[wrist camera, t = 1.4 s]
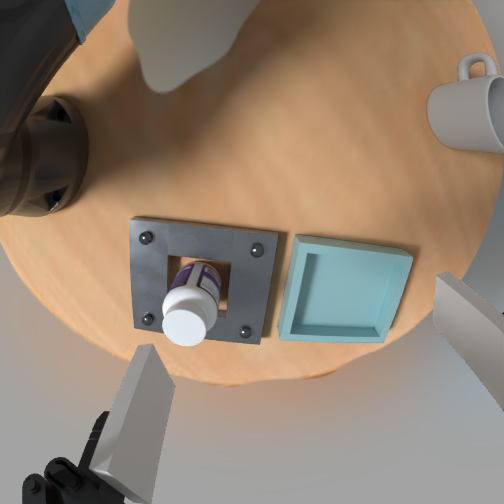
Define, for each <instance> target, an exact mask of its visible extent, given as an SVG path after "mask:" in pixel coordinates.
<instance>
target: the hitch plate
mask: <svg viewBox="0 0 504 504" xmlns="http://www.w3.org/2000/svg"><path fill="white" fill-rule="evenodd" d="M277 241H278V233H277V232H274V231H265V230H257V229H248V228H240V227H231V226H222V225H213V224H204V223H194V222H185V221H175V220H165V219H155V218H144V217H133V218H132V219H130V274H131V293H132V307H133V319H134V328H136V329H142V330H148V331H153V332H160V333H164V331H163V327H162V323H163V319H164V315H163V309H162V308H163V302H164V299H165V297H166V295H167V293H168V291H169V289H170V263H171V255H173V256H181V257H190V258H198V259H207V260H216V261H224V262H231V272H230V281H229V291H228V301H227V310H226V311H221V310H218V314H217V318H216V321H215V324H214V325H213V327H212V328H211V329H210V330H208V331H207V332H206V335H205V337H204V339H209V340H217V341H226V342H236V343H246V344H258V345H260V341H261V336H262V330H263V324H264V319H265V313H266V307H267V302H268V296H269V290H270V284H271V278H272V272H273V266H274V260H275V254H276V247H277Z"/></svg>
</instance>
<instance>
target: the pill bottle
mask: <svg viewBox="0 0 504 504" xmlns="http://www.w3.org/2000/svg"><path fill="white" fill-rule="evenodd" d="M221 286H222V282H221V278H220V275H219V273H218V272H217V270H216V269H215V268H214V267H212V266H211V265H209V264H207V263H204V262H191V263H188V264H186V265H184V266H183V267H182V268H181V269H180V270H179V272H178V273H177V275H176V277H175V279H174V281H173V283H172V285H171V287H170V289H169V291H168V293H167V295H166V297H165V299H164V302H163V308H162V309H163V315H164V319H163V323H162V327H163V331H164V333H165V335H166V336H167V337H168V338H169V339H170V340H171V341H172V342H174V343H176V344H178V345H181V346H193V345H196V344H198V343H200V342H201V341H202V340H203V339H204V337H205V335H206V332H207V331H208V330H210V329H211V328H212V327H213V325H214V324H215V321H216V318H217V314H218V307H219V300H220V294H221Z"/></svg>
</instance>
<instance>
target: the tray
mask: <svg viewBox="0 0 504 504" xmlns="http://www.w3.org/2000/svg"><path fill="white" fill-rule="evenodd" d="M413 258H414V257H413V256H411V255H410V254H409V253H407V252H406V251H404V250H403V249H399V248H393V247H386V246H379V245H372V244H365V243H358V242H351V241H343V240H336V239H329V238H321V237H313V236H306V235H298V234H295V236H294V242H293V247H292V253H291V259H290V264H289V270H288V275H287V280H286V285H285V291H284V296H283V301H282V306H281V311H280V316H279V321H278V326H277V327H278V333H279V339H280V340H282V341H299V342H322V343H384V341H385V339H386V336H387V334H388V331H389V329H390V326H391V324H392V321H393V319H394V316H395V313H396V311H397V308H398V305H399V302H400V299H401V296H402V294H403V291H404V288H405V284H406V281H407V278H408V275H409V272H410V269H411V265H412V262H413Z"/></svg>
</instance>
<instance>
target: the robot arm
mask: <svg viewBox="0 0 504 504" xmlns="http://www.w3.org/2000/svg"><path fill="white" fill-rule="evenodd" d="M115 1H116V0H0V217H2V216H5V215H8V214H9V215H18V216H27V217H41V216H45V215H48V214H50V213H53V212H55V211H57V210H59V209H61V208H63V207H64V206H65V205H66V204H67V203H68V202H69V201H70V200H71V199H72V198H73V196H74V195H75V194H76V192H77V190H78V188H79V187H80V184H81V182H82V180H83V177H84V174H85V170H86V166H87V160H88V136H87V131H86V127H85V124H84V121H83V119H82V117H81V115H80V113H79V111H78V110H77V109H76V108H75V107H74V106H73V105H72V104H71V103H70V102H68V101H67V100H65V99H62V98H58V97H53V96H41V95H42V93H43V92H44V90H45V89H46V87H47V86H48V84H49V83H50V81H51V80H52V79H53V77H54V76H55V74H56V73H57V72H58V70H59V69H60V68H61V66H62V65H63V64H64V63H65V61H66V60H67V59H68V58H69V56H70V55H71V54H72V53H73V52H74V51H75V49H76V48H77V47H78V46H79V45H82V44H83V43H84V42H85V40H86V37H87V35H88V34H89V33H90V32H91V30H92V29H93V28H94V27H95V26H96V25H97V23H98V22H99V21H100V20H101V19H102V18H103V17H104V16H105V15H106V14H107V13H108V11H109V10H110V9H111V8H112V6H113V5H114V3H115ZM432 324H433V325H434V326H435V327H436V329H437V330H438V331H439V332H440V333H441V334H442V335H443V337H444V338H445V339H446V340H447V341H448V342H449V343H450V344H451V346H452V347H453V348H454V349H455V350H456V351H457V353H458V354H459V355H460V356H461V357H462V359H463V360H464V361H465V362H466V363H467V365H468V366H469V367H470V368H471V370H472V371H473V372H474V373H475V374H476V375H477V377H478V378H479V379H480V381H481V382H482V383H483V385H484V386H485V387H486V388H487V389H488V391H489V392H490V394H491V395H492V396H493V398H494V399H495V400H496V402H497V403H498V404H499V405H500V407H501V408H502V410H503V411H504V312H503V313H501V312H499V311H498V310H497V309H496V308H495V307H493V306H492V305H491V304H490V303H489V302H487V301H486V300H485V299H484V298H482V297H481V296H480V295H479V294H477V293H476V292H475V291H473V290H472V289H471V288H470V287H468V286H467V285H466V284H465V283H463V282H462V281H461V280H459V279H458V278H457V277H455V276H454V275H453V274H451V273H450V272H445V273H442V274H440V275H437V276H436V288H435V299H434V309H433V318H432ZM174 390H175V384H174V382H173V380H172V379H171V377H170V375H169V373H168V372H167V370H166V368H165V366H164V364H163V362H162V360H161V359H160V357H159V355H158V353H157V351H156V349H155V347H154V345H153V344H146V345H139V346H138V347H137V349H136V352H135V354H134V356H133V358H132V360H131V363H130V365H129V367H128V370H127V372H126V374H125V377H124V379H123V381H122V383H121V386H120V388H119V391H118V393H117V395H116V398H115V400H114V403H113V405H112V408H111V410H110V411H104V412H103V413H102V414H101V415H100V416H99V418H98V419H97V420H96V422H95V425H94V427H93V429H92V433H91V434H90V437H89V440H88V442H87V444H86V447H85V449H84V452H83V455H82V457H81V460H80V462H79V465H78V467H76V466H75V465H74V464H73V463H71V462H70V461H69V460H68V459H66V458H64V457H58V458H54V459H53V460H52V461H50V462H49V463H48V465H47V466H46V468H45V471H44V478H43V477H42V476H41V475H39V474H31V475H29V476H28V477H27V478H26V479H25V481H24V482H23V487H22V488H23V489H22V502H23V503H22V504H125V503H124V498H125V497H127V498H128V499H130V500H131V501H133V502H136V503H143V504H151V502H152V497H153V491H154V486H155V479H156V475H157V470H158V464H159V459H160V454H161V449H162V444H163V440H164V435H165V430H166V426H167V421H168V417H169V412H170V407H171V403H172V399H173V394H174ZM47 480H48V481H47Z"/></svg>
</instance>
